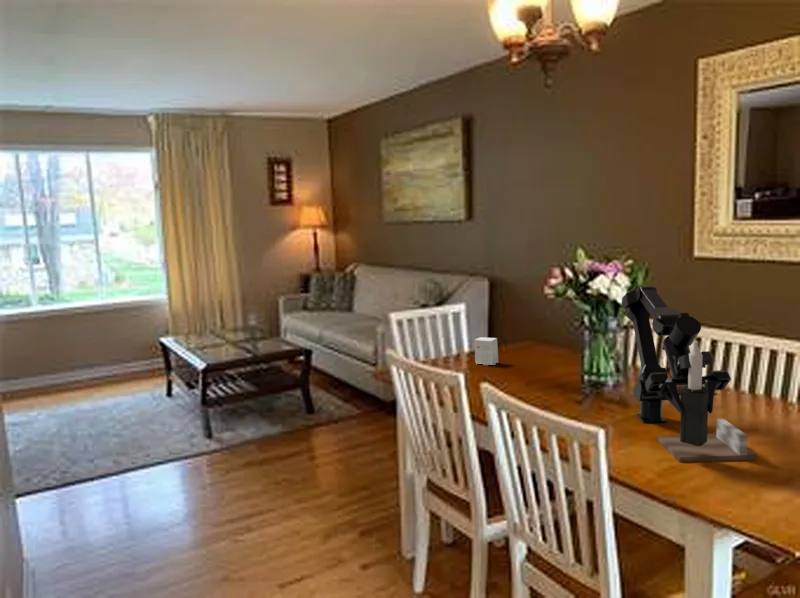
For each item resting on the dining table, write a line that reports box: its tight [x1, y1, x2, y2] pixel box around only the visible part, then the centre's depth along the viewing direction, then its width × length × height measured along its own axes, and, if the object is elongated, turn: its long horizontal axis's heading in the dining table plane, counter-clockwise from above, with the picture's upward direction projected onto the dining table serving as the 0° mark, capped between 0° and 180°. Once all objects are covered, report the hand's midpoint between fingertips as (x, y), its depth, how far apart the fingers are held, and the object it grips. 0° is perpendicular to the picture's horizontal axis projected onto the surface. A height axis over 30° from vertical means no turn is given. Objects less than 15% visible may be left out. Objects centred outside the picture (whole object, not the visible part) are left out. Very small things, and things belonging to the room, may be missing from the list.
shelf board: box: [657, 417, 757, 463], centre depth 152 cm, size 14×18×6 cm
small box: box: [474, 336, 499, 366], centre depth 247 cm, size 8×6×10 cm
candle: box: [679, 340, 709, 446], centre depth 144 cm, size 5×5×25 cm
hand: (696, 413), depth 143 cm, fingers closed on candle, 6 cm apart
